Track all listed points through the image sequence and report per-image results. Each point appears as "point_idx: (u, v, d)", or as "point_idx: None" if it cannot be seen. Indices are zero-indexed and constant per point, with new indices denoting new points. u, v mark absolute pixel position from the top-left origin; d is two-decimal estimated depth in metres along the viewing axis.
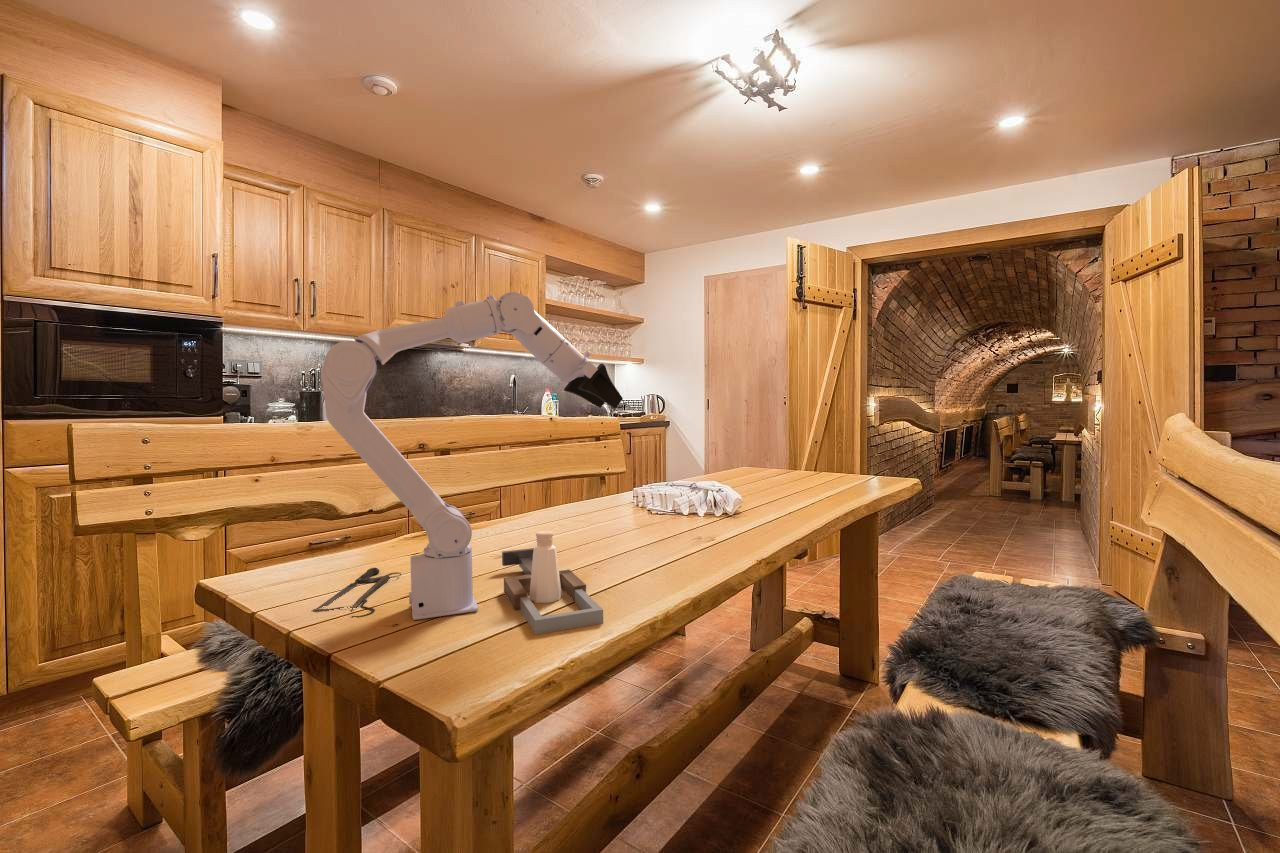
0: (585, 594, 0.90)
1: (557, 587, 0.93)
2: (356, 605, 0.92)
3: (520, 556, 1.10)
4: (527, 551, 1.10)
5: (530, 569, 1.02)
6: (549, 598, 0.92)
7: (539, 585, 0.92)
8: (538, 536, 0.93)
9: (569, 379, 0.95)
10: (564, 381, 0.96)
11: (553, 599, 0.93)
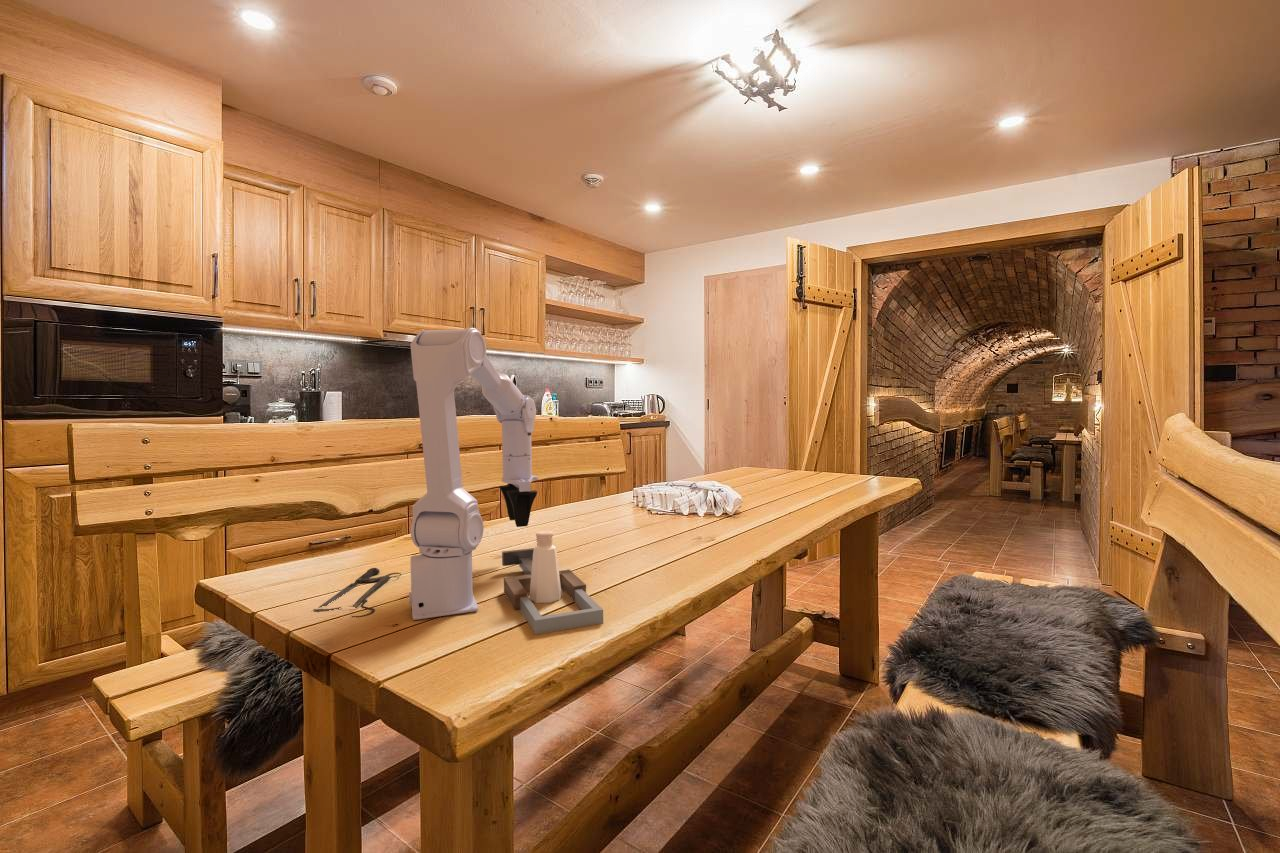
0: (585, 594, 0.90)
1: (557, 587, 0.93)
2: (356, 605, 0.92)
3: (520, 556, 1.10)
4: (527, 551, 1.10)
5: (530, 569, 1.02)
6: (549, 598, 0.92)
7: (539, 585, 0.92)
8: (538, 536, 0.93)
9: (507, 481, 1.11)
10: (503, 479, 1.12)
11: (553, 599, 0.93)
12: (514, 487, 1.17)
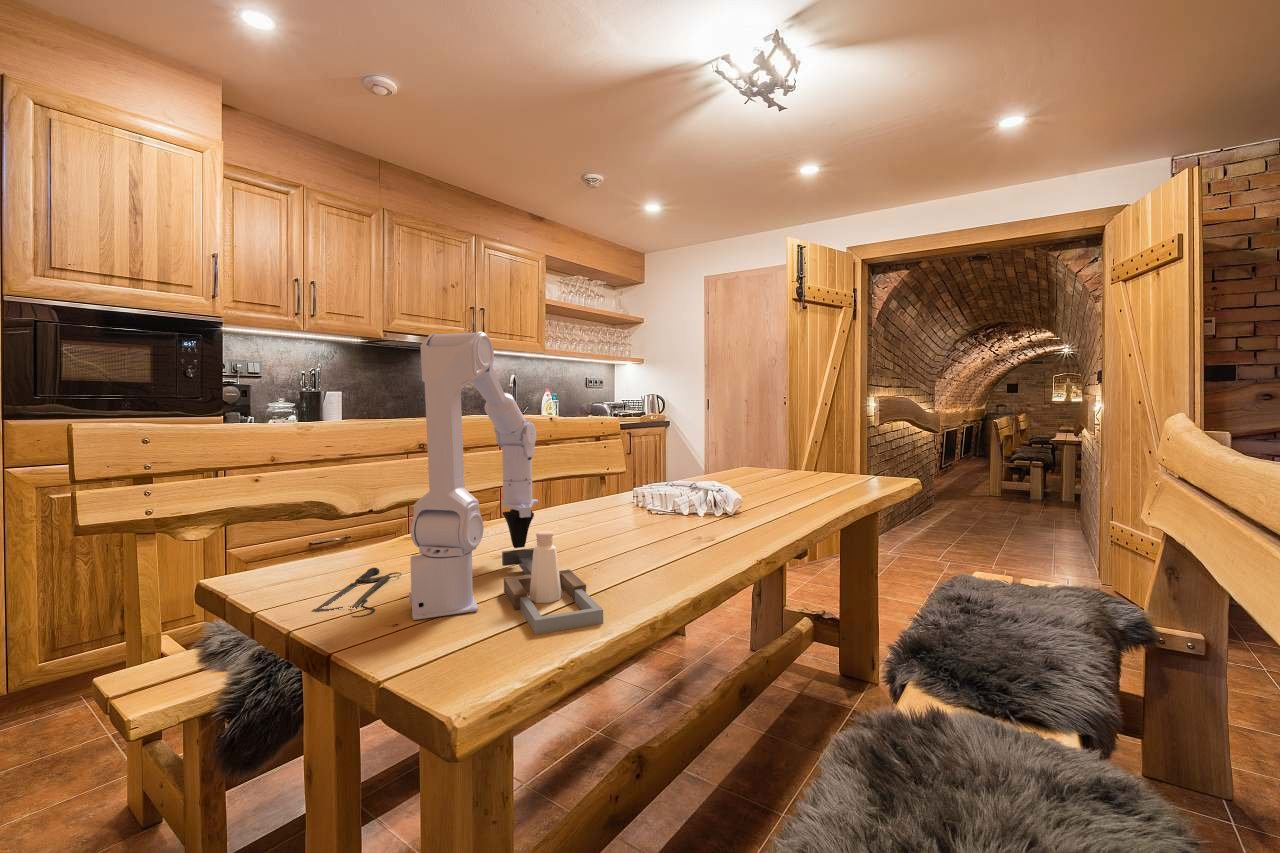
0: (585, 594, 0.90)
1: (557, 587, 0.93)
2: (356, 605, 0.92)
3: (520, 556, 1.10)
4: (527, 551, 1.10)
5: (530, 569, 1.02)
6: (549, 598, 0.92)
7: (539, 585, 0.92)
8: (538, 536, 0.93)
9: (508, 506, 1.11)
10: (504, 504, 1.12)
11: (553, 599, 0.93)
12: None
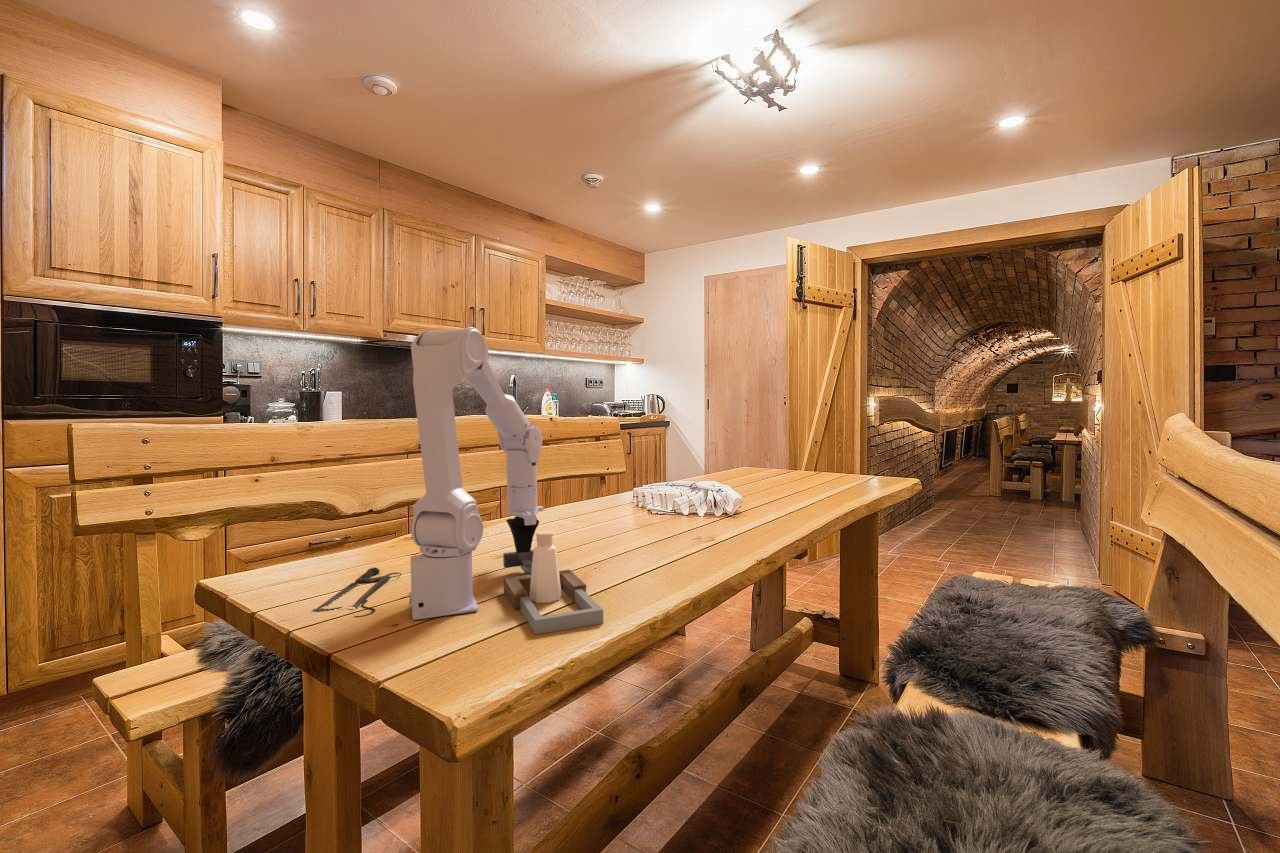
0: (585, 594, 0.90)
1: (557, 587, 0.93)
2: (356, 605, 0.92)
3: (521, 558, 1.08)
4: (529, 553, 1.09)
5: None
6: (549, 598, 0.92)
7: (539, 585, 0.92)
8: (538, 536, 0.93)
9: (512, 513, 1.07)
10: (508, 511, 1.08)
11: (553, 599, 0.93)
12: None
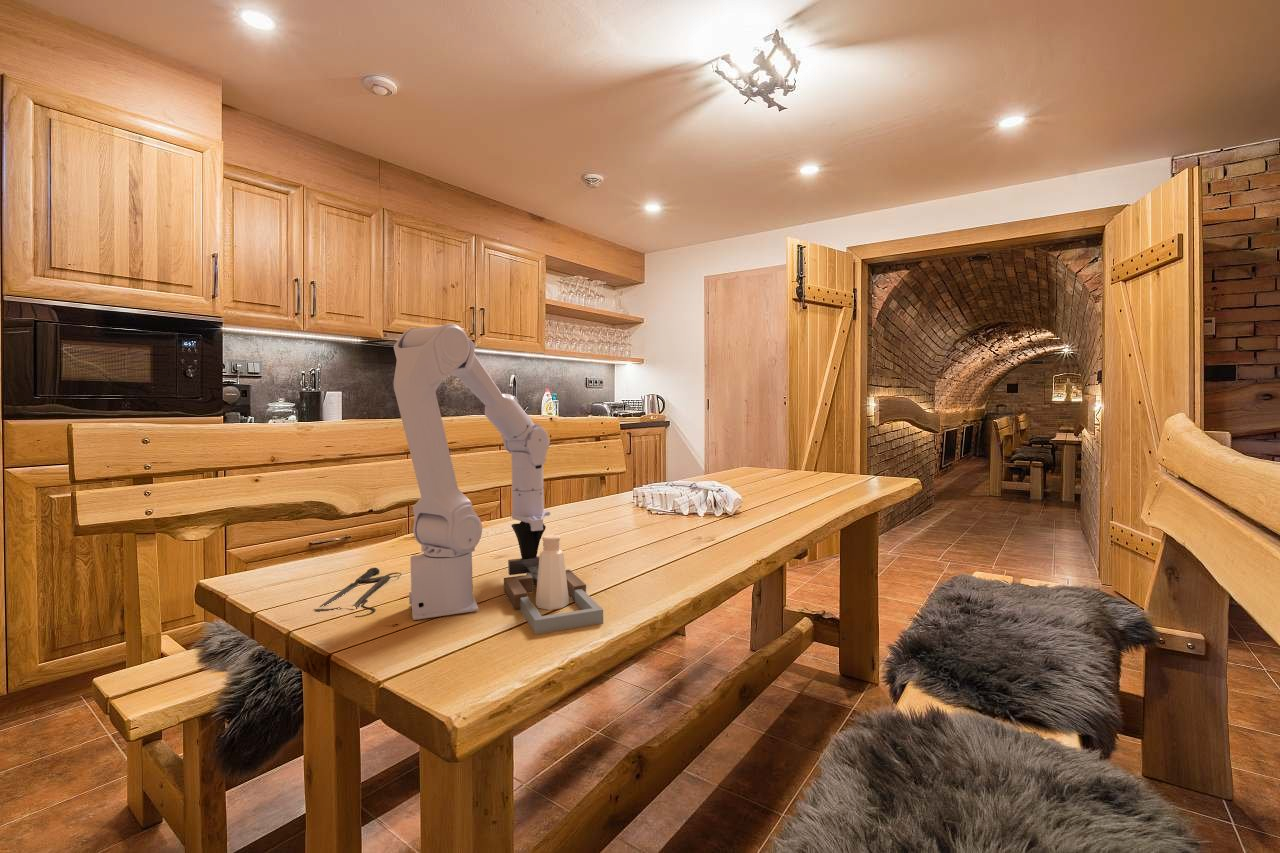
0: (585, 594, 0.90)
1: (567, 591, 0.91)
2: (357, 605, 0.92)
3: (527, 565, 1.04)
4: (535, 559, 1.04)
5: None
6: (562, 603, 0.90)
7: (552, 591, 0.89)
8: (548, 541, 0.90)
9: (518, 518, 1.02)
10: (513, 516, 1.03)
11: (565, 603, 0.90)
12: None
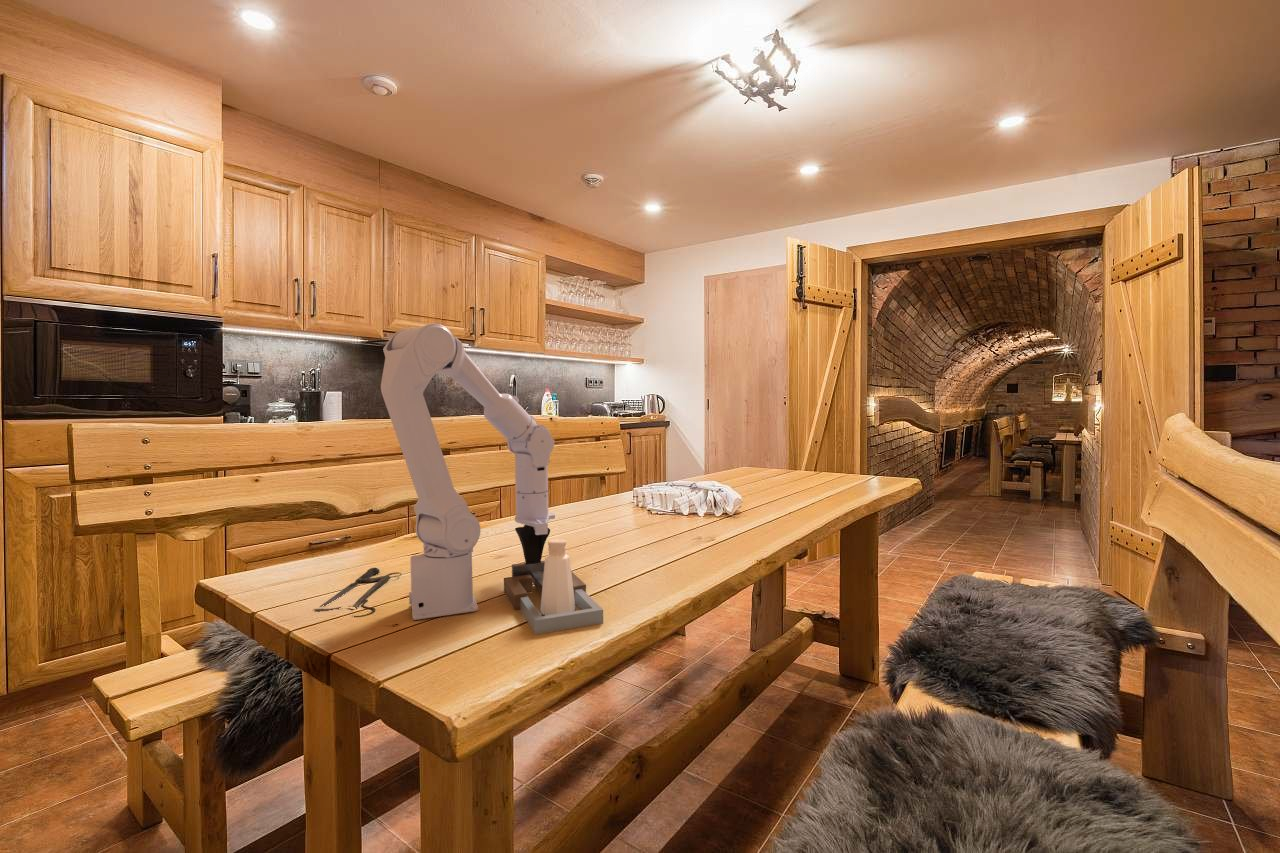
0: (585, 594, 0.90)
1: (573, 597, 0.89)
2: (357, 605, 0.92)
3: (531, 569, 1.01)
4: (539, 564, 1.01)
5: None
6: (570, 609, 0.87)
7: (559, 597, 0.86)
8: (554, 545, 0.87)
9: (521, 521, 0.99)
10: (517, 519, 1.00)
11: (572, 610, 0.88)
12: None
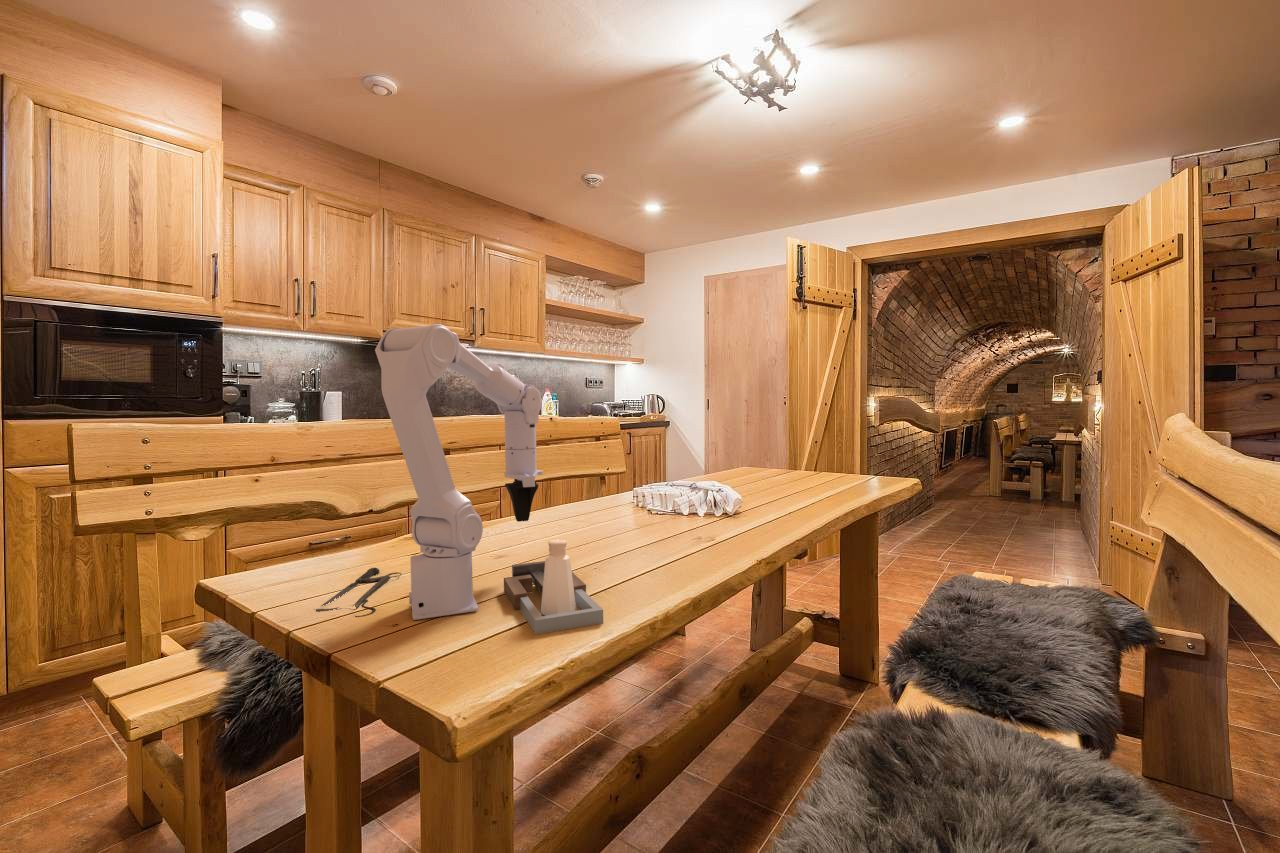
0: (585, 594, 0.90)
1: (574, 597, 0.88)
2: (357, 605, 0.92)
3: (532, 570, 1.00)
4: (539, 564, 1.01)
5: None
6: (570, 610, 0.87)
7: (560, 598, 0.86)
8: (555, 546, 0.87)
9: (510, 476, 1.04)
10: (506, 474, 1.05)
11: (572, 610, 0.87)
12: None
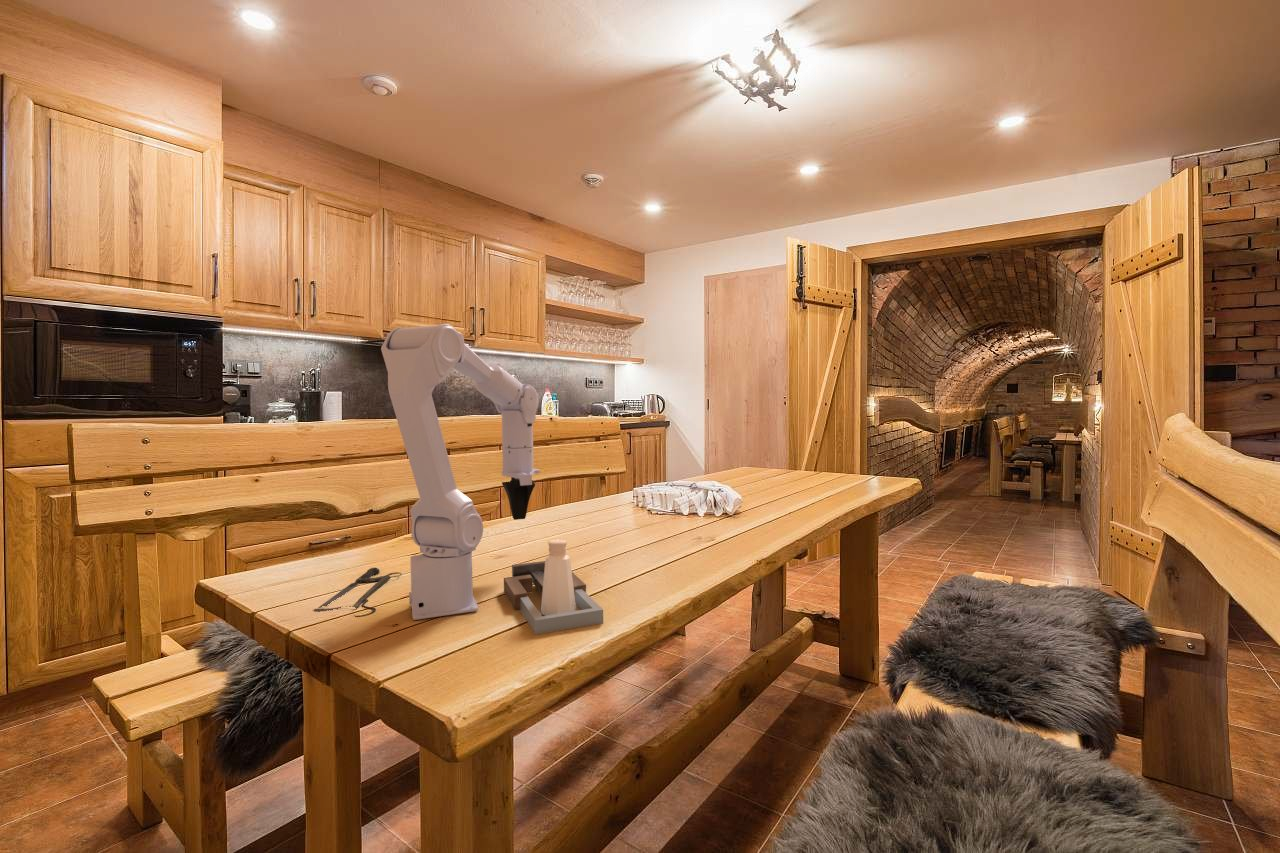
0: (585, 594, 0.90)
1: (574, 597, 0.88)
2: (357, 605, 0.92)
3: (532, 570, 1.00)
4: (539, 564, 1.01)
5: None
6: (570, 610, 0.87)
7: (560, 598, 0.86)
8: (555, 546, 0.87)
9: (507, 474, 1.05)
10: (503, 473, 1.06)
11: (572, 610, 0.87)
12: None
